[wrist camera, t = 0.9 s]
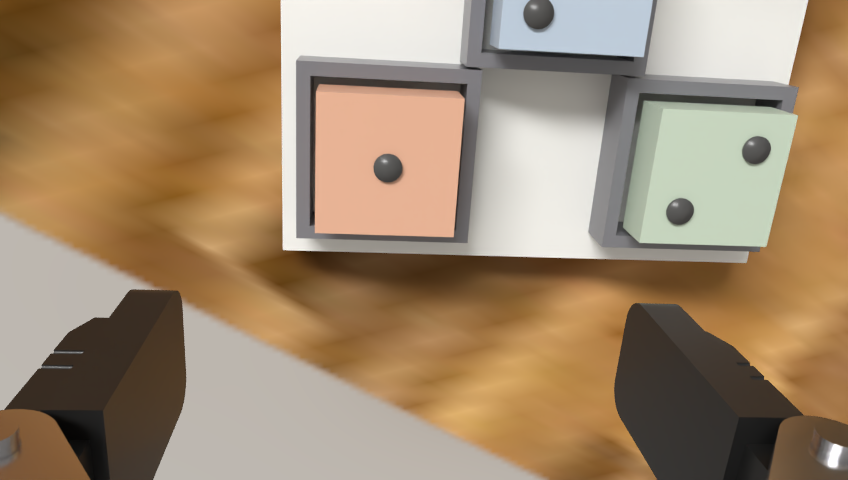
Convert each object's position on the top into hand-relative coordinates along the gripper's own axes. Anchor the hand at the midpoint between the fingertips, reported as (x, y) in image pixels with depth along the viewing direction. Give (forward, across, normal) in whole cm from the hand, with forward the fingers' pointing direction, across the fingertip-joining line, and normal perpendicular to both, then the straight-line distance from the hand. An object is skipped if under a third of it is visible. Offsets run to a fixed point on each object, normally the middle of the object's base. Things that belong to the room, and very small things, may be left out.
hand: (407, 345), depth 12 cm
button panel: (+18, -6, -3) cm, 20 cm away
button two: (+15, -12, 0) cm, 19 cm away
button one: (+15, 0, 0) cm, 15 cm away
